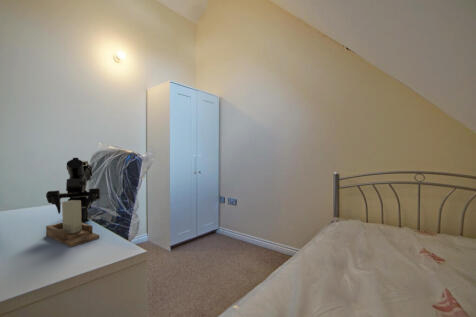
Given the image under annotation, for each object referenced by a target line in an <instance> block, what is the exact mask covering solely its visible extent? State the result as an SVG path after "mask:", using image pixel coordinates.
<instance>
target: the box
mask: <svg viewBox="0 0 476 317" xmlns="http://www.w3.org/2000/svg"><path fill="white" fill-rule="evenodd" d="M61 212H62V214H61V215H62V223H63V231H65V232H67V233H70V234H71V233H72V234H73V233H76V232H78V231H81V230H82V223H83V222H82V218H81V200H70V201H68V200H67V201H66V200H65V201H63V202H61Z"/></svg>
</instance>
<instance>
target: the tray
mask: <svg viewBox="0 0 476 317" xmlns="http://www.w3.org/2000/svg"><path fill="white" fill-rule="evenodd" d="M45 233H46V234H45V235H46V237H48V238H50V239H52V240H55V241H57V242H58V243H61V244H64V245H66V246H67V247H70V248H72V247H75V246H79V245H81V244H85V243H87V242H91V241H94V240H97V239H99V238H100V234H98V233H95V232H93V225H91V224H87V223H84V222H82V230H81V231H78V232H76V233H73V234H72V233H71V234H70V233H67V232H65V231H63V222H59V223H54V224H50V225H46V226H45Z"/></svg>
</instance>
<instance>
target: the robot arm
mask: <svg viewBox="0 0 476 317" xmlns="http://www.w3.org/2000/svg"><path fill="white" fill-rule="evenodd" d="M66 171H67V172H68V175H69V178H67V179H66V182H65V183H66V184H65V187H66V189H65V191H66V192H60V190H48V191H47V192H46V193H45V198H46V201H47V203H48V204H51V205H55V206H56V209H57V213H58V215H61V212H62V202H61V199H67V198H68V199H67V201H70V200H81V218H82V223H84V222H89V221H90V219H89V215H88V213H89V212H88V210H90V209H91V208H92V204H93V203H94V202H95V201H97V200H100V199H101V192H100V191H101V189H100V188H99V187H98V188H97V187H95V188H89V190H88V191H87V186H88V185H87V184H88V181H91V180H92V177H93V166H91V165H90V164H89V161H88V160H81V159H79V157H72V159H70V160H68V161H66Z"/></svg>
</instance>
